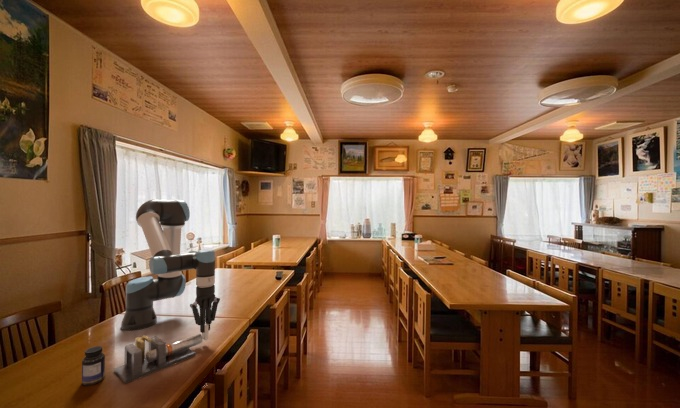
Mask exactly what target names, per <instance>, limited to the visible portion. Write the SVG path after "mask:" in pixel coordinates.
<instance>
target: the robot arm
mask: <svg viewBox="0 0 680 408" xmlns="http://www.w3.org/2000/svg"><path fill="white" fill-rule="evenodd" d="M189 208H190V207H189V205H188V203H187V202H186V201H185V200H183V199H182V200H181V199H150V200H147V201H145V202H144V203H142V204H141V205H140V206H139V208H137V211H136V215H135V220H136V223H137V225H138V226H139V227H140V228H141V229H142V232H143V235H144V237H145V240H146V243H147V246H148V248H149V250H150V251H149V252H150V253H151V256H152V257H151V258H150V259H149V264H148V265H149V271H150V272H149V273H151V274H152V275H157V278H154V276H151V275H149V276H147V275H146V276H142V277H141V276H140V277H138V278H134V279H132V280H130V281H128V282H127V283H126V286H125V311H124V312H125V313H124V315H123V318H122V320H121V324H120V328H121V329H122V330H124V331H135V330H136V331H137V330H142V329H145V328H149V327H152V326H153V325H155V324H156V323H157V321H158V317H157V314H156V312H155V309H154V302H157V301H161V300H167V299H172V298H176V297H179V296H180V297H181V295H182V294H184V292H185V289H186V284H187V283H186V282H187V281H186V277H185V275H184V274H183V271H184V272H185V271H189V270H190V271H191V270H195V271H196V273H195V274H196V276H195V277H196V279H195V285H196V287H195V296H196V297H195V301H194V302H193V303H190V304H189V307H190V309H191V310H192V314H193V318H194V321H195V324H196V325H197V326H199V328H200V329H199V331H200V334H201V336H202V340H204V341H207V340H209V331H210V330H211V324H212V323H213V322H214V321H215V319H216V314H217V311H218V306H219V303H220V300H221V298H220V297H217V296H216V294H215V293H216V292H215V291H216V285H215V284H216V283H215V282H216V251H215V250H213V249H200V250H197V251H189V252H188V253H187V252H186V253H181V242H182V241H181V240H182V228H183V227H184V226H185V224H186V222H188V221H189V219H190V214H191V213H190V209H189ZM198 306H199V307H198ZM198 308H199V309H198Z"/></svg>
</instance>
